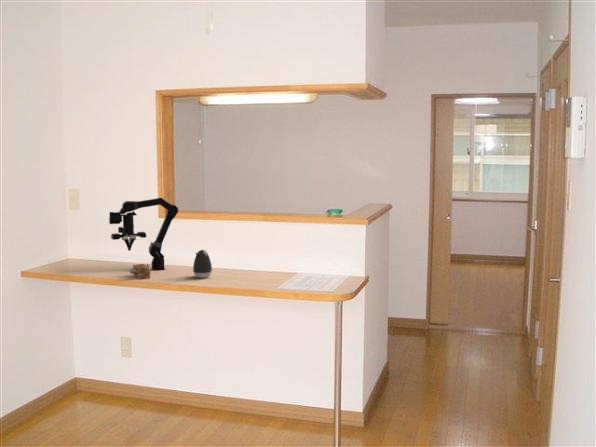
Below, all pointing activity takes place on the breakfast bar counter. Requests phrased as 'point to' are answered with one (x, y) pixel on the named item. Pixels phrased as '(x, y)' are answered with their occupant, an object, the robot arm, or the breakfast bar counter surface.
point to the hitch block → (142, 271)
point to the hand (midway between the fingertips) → (129, 250)
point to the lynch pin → (136, 270)
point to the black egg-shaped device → (202, 265)
